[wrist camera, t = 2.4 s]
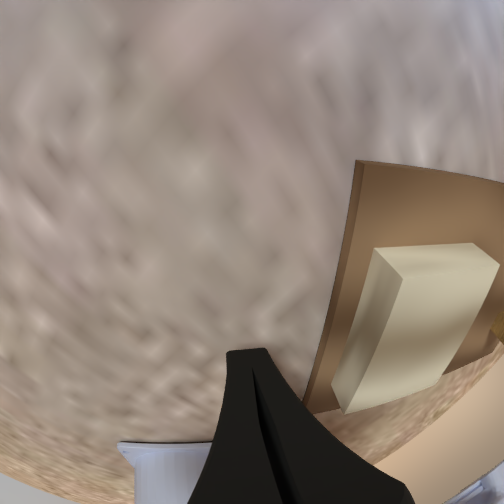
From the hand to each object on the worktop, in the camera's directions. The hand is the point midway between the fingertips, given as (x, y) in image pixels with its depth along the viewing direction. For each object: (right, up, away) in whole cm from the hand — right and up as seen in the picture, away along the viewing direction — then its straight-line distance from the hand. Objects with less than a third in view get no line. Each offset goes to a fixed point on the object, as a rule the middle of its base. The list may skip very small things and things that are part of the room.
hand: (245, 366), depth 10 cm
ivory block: (+7, +1, +2) cm, 8 cm away
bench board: (+12, +2, +4) cm, 13 cm away
